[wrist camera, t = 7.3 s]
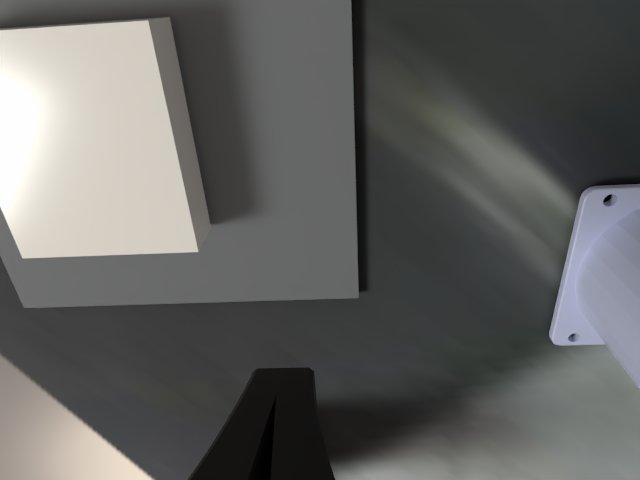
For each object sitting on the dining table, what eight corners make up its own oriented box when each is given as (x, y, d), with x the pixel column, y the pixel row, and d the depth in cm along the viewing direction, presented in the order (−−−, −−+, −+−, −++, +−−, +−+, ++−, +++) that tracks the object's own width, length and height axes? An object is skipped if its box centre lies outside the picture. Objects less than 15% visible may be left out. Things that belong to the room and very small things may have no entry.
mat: (347, -146, 14) (347, -150, 13) (358, 292, 21) (358, 297, 21) (-153, -102, 15) (-165, -105, 14) (29, 303, 22) (24, 307, 22)
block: (148, 20, 14) (-75, 35, 14) (198, 252, 17) (22, 258, 18) (171, 16, 16) (-24, 29, 16) (212, 225, 19) (53, 231, 20)
